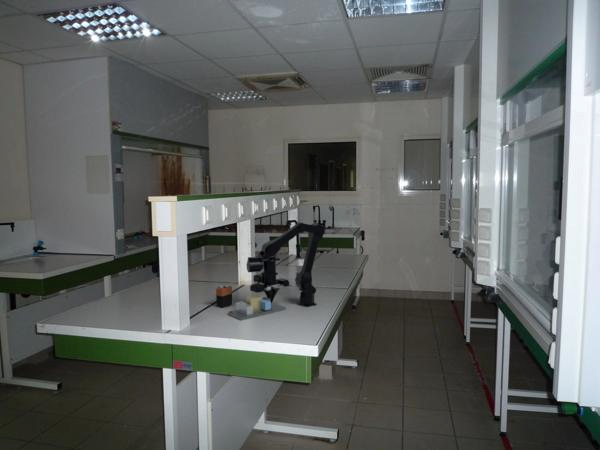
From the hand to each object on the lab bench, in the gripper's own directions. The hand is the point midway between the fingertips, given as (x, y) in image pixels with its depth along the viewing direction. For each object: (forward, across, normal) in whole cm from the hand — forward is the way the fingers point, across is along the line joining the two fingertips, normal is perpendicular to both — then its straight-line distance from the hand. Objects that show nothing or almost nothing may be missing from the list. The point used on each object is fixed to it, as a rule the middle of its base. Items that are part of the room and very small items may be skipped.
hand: (270, 303), depth 194 cm
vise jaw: (+1, +4, 0) cm, 4 cm away
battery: (+3, +14, -19) cm, 23 cm away
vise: (+2, +8, 0) cm, 9 cm away
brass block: (+1, +9, 0) cm, 9 cm away
